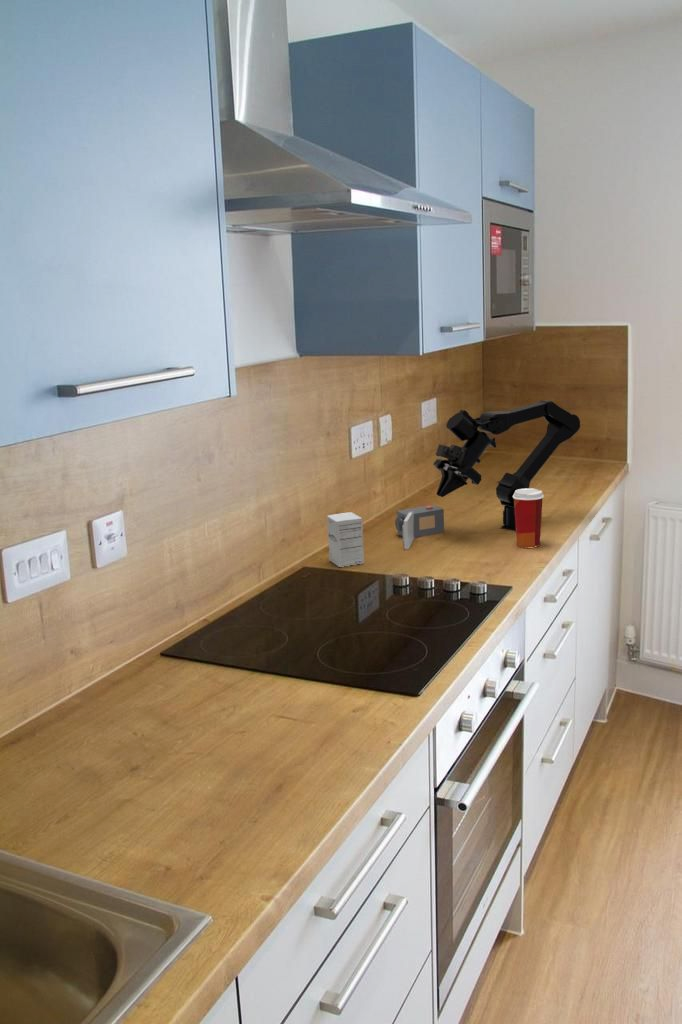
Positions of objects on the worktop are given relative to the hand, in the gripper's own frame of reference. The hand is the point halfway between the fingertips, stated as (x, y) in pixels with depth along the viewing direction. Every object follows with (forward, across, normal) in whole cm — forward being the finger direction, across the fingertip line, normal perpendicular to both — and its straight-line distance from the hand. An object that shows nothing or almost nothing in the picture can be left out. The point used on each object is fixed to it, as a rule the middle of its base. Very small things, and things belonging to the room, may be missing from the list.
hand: (439, 495), depth 246 cm
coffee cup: (-2, +15, +23) cm, 28 cm away
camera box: (+10, -11, +7) cm, 17 cm away
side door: (+15, -3, +3) cm, 16 cm away
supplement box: (+30, +5, -13) cm, 33 cm away
